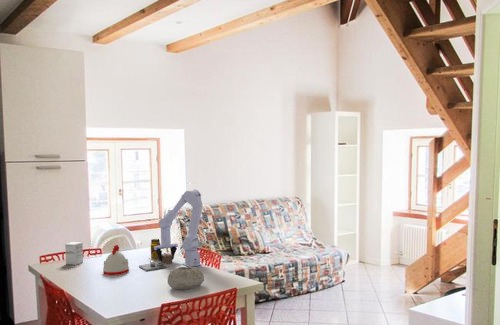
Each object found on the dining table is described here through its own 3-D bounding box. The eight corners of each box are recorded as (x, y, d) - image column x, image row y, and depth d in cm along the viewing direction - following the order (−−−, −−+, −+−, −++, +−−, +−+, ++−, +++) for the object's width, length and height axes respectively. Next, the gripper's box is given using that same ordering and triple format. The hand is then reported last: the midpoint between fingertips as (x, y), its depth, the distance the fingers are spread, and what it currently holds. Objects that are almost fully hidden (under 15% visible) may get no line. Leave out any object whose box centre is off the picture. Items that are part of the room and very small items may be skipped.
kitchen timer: (132, 268, 259) (131, 243, 258) (123, 275, 245) (122, 248, 245) (109, 268, 260) (108, 243, 260) (99, 275, 246) (98, 248, 246)
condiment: (148, 259, 282) (147, 240, 281) (155, 256, 290) (154, 237, 289) (158, 259, 279) (157, 240, 279) (165, 256, 287) (164, 238, 287)
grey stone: (187, 280, 231) (187, 261, 230) (212, 286, 219) (211, 266, 219) (160, 289, 217) (159, 269, 217) (185, 296, 206) (184, 274, 205)
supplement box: (65, 264, 273) (64, 243, 273) (73, 261, 280) (72, 241, 280) (75, 265, 271) (74, 244, 271) (83, 262, 278) (82, 241, 278)
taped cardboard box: (172, 262, 270) (172, 253, 270) (164, 264, 267) (163, 254, 267) (168, 261, 275) (168, 252, 274) (160, 262, 272) (160, 253, 272)
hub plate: (166, 267, 258) (166, 261, 258) (146, 271, 252) (146, 264, 251) (158, 263, 268) (158, 257, 268) (139, 267, 262) (138, 260, 262)
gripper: (174, 235, 278) (174, 257, 278) (151, 238, 270) (152, 260, 270) (178, 237, 272) (179, 259, 272) (156, 240, 264) (156, 263, 264)
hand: (166, 260), depth 271 cm, fingers open, 7 cm apart
